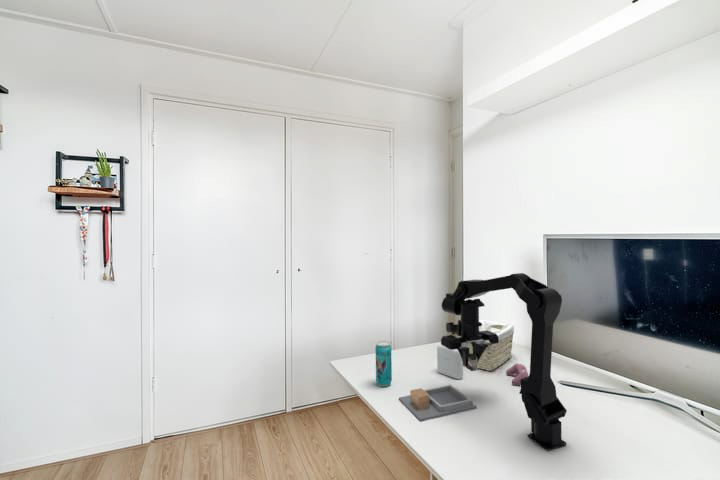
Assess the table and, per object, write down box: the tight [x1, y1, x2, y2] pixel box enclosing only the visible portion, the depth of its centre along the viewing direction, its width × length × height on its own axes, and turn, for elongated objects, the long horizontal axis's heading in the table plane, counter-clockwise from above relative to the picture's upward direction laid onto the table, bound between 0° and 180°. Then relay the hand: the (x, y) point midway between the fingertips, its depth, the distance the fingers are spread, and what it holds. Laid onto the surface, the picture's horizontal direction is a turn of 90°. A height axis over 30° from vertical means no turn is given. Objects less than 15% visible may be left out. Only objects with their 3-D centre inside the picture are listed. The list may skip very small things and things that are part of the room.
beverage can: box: [375, 340, 393, 387], centre depth 122 cm, size 6×6×15 cm
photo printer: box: [436, 342, 464, 380], centre depth 129 cm, size 10×4×12 cm, turn 39°
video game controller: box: [505, 362, 529, 386], centre depth 123 cm, size 10×5×7 cm, turn 169°
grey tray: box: [398, 384, 477, 422], centre depth 107 cm, size 14×20×5 cm
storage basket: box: [456, 319, 515, 372], centre depth 143 cm, size 24×16×15 cm
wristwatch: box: [465, 353, 478, 372], centre depth 110 cm, size 4×6×5 cm, turn 14°
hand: (470, 365), depth 110 cm, fingers closed on wristwatch, 3 cm apart
